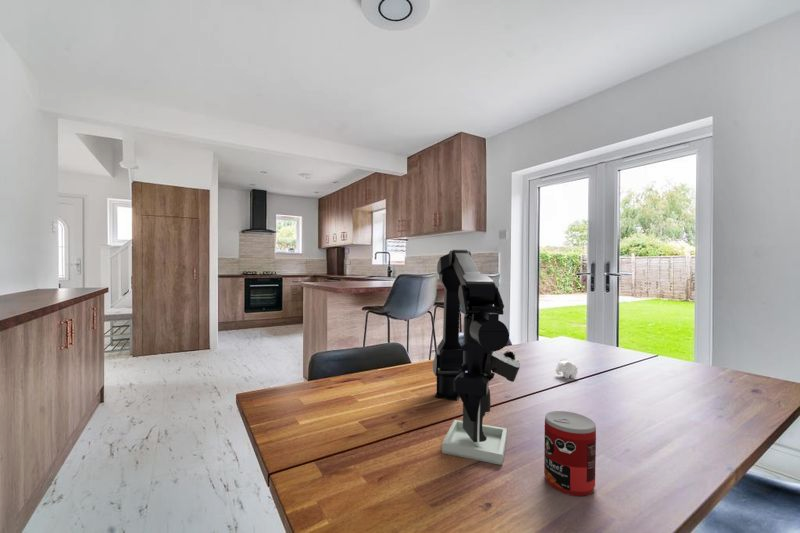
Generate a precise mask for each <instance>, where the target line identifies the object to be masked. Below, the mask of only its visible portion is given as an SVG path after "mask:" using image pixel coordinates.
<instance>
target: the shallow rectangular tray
mask: <svg viewBox="0 0 800 533" xmlns="http://www.w3.org/2000/svg"><path fill="white" fill-rule="evenodd" d="M482 430H483V433H484V434H485V435H486V437H487V439H486V441H483V442H479V443H477V442H474V441H473V440H472V439H471V438H470V437H469V436H468V434H467V433H466V432H465V430H464V429H463V420H458V419H454V420H453V421H452V423H451V425H450V428H449V430H448V432H446V435H445V436H444V439H443V440H442V442H441V444H442V445H441V451H442V452H441V453H442V454H446V455H450V456H455V457H461V458H463V459H464V458H465V459H469V460H473V461H474V460H475V461H480V462H484V463H489V464H493V465H499V466H503V463H504V459H505V452H506V445H507V439H508V428H505V427H499V426H494V425H488V424H483V423H482Z"/></svg>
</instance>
